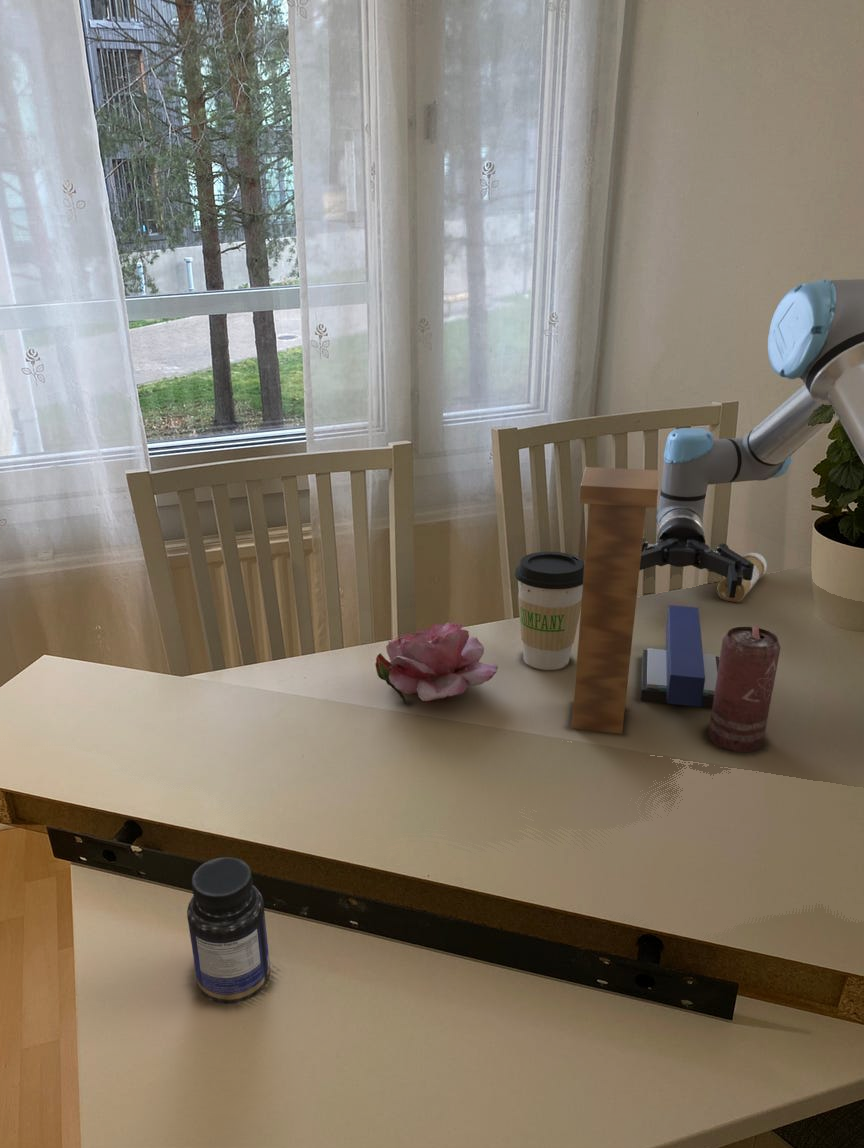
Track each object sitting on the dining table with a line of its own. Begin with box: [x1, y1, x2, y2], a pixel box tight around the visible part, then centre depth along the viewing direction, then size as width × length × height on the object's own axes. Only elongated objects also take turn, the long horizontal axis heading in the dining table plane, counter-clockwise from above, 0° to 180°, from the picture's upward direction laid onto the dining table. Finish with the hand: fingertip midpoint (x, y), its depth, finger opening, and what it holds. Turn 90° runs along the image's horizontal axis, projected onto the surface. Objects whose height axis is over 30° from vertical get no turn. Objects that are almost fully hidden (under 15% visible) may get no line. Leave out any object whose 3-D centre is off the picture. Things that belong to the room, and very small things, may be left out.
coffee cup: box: [514, 551, 585, 671], centre depth 125 cm, size 10×10×15 cm
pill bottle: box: [186, 856, 271, 1005], centre depth 74 cm, size 6×6×11 cm
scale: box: [640, 647, 720, 709], centre depth 121 cm, size 10×12×3 cm
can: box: [708, 625, 781, 753], centre depth 105 cm, size 6×6×14 cm
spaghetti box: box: [665, 604, 705, 708], centre depth 120 cm, size 4×22×4 cm, turn 165°
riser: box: [571, 466, 659, 735], centre depth 107 cm, size 8×8×31 cm
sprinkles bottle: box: [716, 552, 768, 603], centre depth 150 cm, size 5×5×13 cm
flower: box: [375, 621, 499, 705], centre depth 119 cm, size 15×15×10 cm
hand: (683, 585), depth 132 cm, fingers open, 13 cm apart
